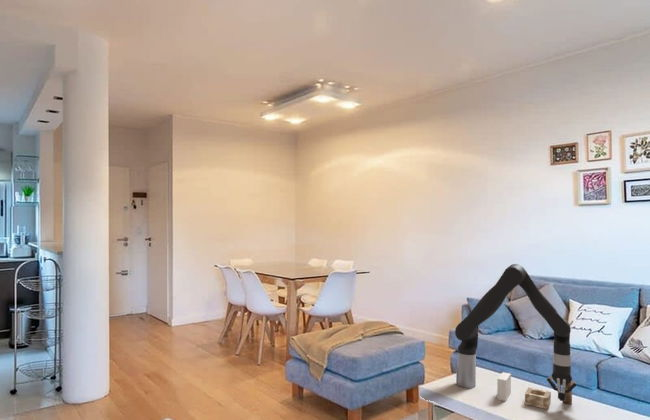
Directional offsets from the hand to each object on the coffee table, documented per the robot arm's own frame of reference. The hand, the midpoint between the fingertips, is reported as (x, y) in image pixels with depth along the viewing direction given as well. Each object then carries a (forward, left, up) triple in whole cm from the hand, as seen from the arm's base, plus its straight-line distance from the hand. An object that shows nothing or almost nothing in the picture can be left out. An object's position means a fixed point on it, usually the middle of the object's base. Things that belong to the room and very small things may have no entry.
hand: (561, 400), depth 209 cm
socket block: (-10, 0, -4) cm, 11 cm away
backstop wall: (-25, 0, -4) cm, 26 cm away
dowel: (+2, +10, -4) cm, 11 cm away
